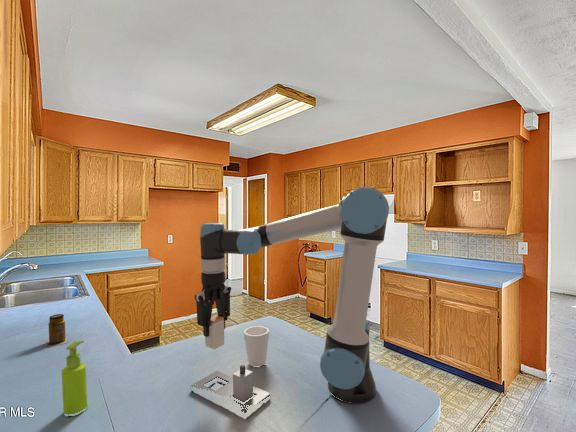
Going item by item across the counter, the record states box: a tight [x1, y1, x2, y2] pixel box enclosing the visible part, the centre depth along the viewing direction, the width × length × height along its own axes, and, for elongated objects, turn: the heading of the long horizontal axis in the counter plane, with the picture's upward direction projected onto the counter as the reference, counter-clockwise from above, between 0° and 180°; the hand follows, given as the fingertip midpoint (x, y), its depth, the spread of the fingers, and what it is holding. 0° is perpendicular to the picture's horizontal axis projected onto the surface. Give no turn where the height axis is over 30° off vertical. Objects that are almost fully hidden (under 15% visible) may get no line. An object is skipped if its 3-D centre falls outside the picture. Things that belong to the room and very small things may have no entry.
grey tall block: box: [232, 364, 254, 402], centre depth 95 cm, size 4×4×11 cm
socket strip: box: [190, 370, 271, 413], centre depth 99 cm, size 24×11×2 cm, turn 54°
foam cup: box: [243, 325, 270, 367], centre depth 118 cm, size 10×9×13 cm
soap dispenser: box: [61, 340, 88, 415], centre depth 94 cm, size 6×7×20 cm
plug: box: [205, 314, 225, 350], centre depth 101 cm, size 4×4×9 cm
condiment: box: [46, 313, 69, 348], centre depth 142 cm, size 7×8×12 cm
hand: (214, 342), depth 102 cm, fingers closed on plug, 4 cm apart
